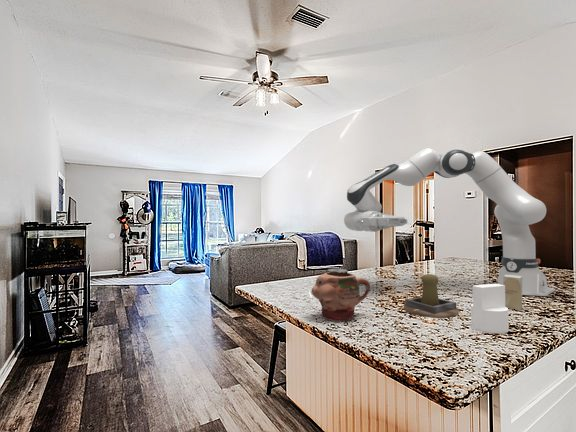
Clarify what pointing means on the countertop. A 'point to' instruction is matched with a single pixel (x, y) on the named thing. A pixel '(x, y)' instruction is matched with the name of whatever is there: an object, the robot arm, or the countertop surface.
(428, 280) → the cork
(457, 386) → the countertop surface
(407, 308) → the base
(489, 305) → the base with upright slab
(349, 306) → the sculpted clay mug
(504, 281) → the box
